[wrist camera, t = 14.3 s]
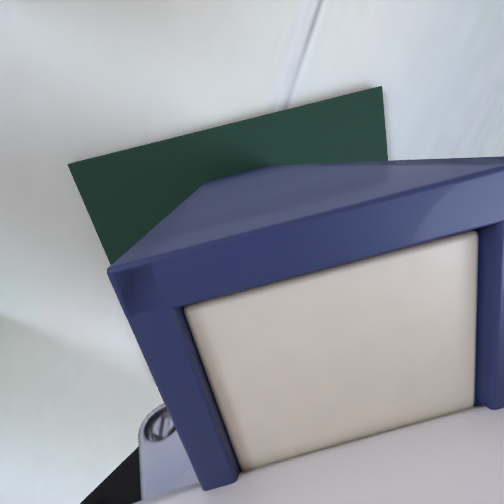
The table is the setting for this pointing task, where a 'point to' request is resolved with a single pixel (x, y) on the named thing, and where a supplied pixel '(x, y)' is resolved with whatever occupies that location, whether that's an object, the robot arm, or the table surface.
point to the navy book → (320, 305)
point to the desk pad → (222, 161)
